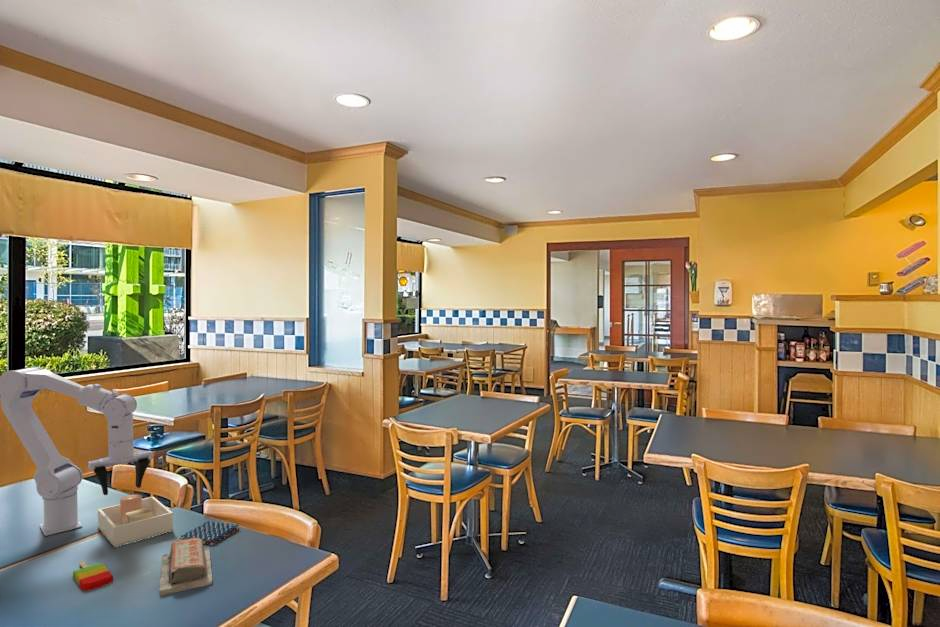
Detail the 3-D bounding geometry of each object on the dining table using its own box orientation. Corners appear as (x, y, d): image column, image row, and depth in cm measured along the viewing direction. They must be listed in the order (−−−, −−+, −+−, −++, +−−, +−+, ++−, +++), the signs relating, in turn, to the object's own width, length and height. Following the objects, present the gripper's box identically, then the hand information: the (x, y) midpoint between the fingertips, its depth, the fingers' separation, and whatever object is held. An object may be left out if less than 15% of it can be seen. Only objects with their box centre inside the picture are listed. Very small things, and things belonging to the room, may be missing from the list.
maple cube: (125, 532, 141) (125, 513, 140) (147, 526, 144) (147, 507, 144) (131, 538, 137) (130, 518, 137) (153, 531, 141) (152, 512, 141)
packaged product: (161, 541, 126) (209, 532, 131) (161, 561, 127) (209, 552, 131) (158, 575, 111) (212, 563, 115) (158, 598, 111) (212, 586, 115)
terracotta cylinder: (118, 523, 146) (118, 497, 146) (140, 518, 150) (139, 493, 150) (122, 529, 143) (122, 502, 142) (144, 523, 146) (143, 497, 146)
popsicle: (83, 594, 113) (83, 585, 112) (66, 570, 123) (66, 562, 123) (114, 584, 117) (114, 575, 117) (95, 562, 127) (95, 554, 127)
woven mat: (207, 527, 146) (206, 519, 146) (241, 530, 143) (241, 523, 143) (177, 544, 136) (177, 536, 136) (213, 548, 133) (213, 540, 133)
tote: (98, 527, 145) (97, 509, 145) (153, 513, 154) (153, 496, 154) (114, 548, 133) (113, 527, 133) (173, 531, 142) (172, 512, 142)
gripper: (91, 448, 138) (93, 501, 139) (155, 437, 149) (156, 487, 149) (86, 443, 143) (87, 494, 144) (148, 433, 154) (149, 481, 154)
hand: (122, 490), depth 147 cm, fingers open, 7 cm apart
